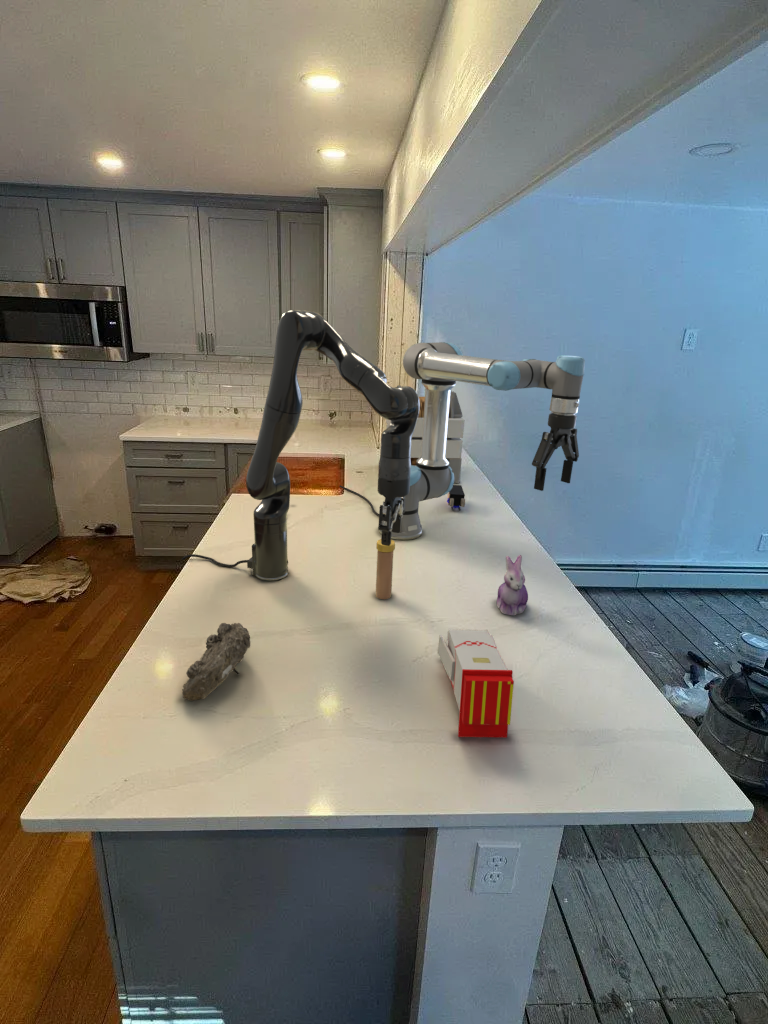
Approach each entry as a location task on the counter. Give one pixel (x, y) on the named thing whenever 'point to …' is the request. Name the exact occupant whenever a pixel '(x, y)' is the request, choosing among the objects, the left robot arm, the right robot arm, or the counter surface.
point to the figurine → (512, 589)
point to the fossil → (217, 660)
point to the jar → (384, 574)
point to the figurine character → (456, 497)
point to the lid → (385, 548)
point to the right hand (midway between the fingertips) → (552, 485)
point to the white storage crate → (453, 435)
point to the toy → (478, 682)
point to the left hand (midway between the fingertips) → (391, 538)
